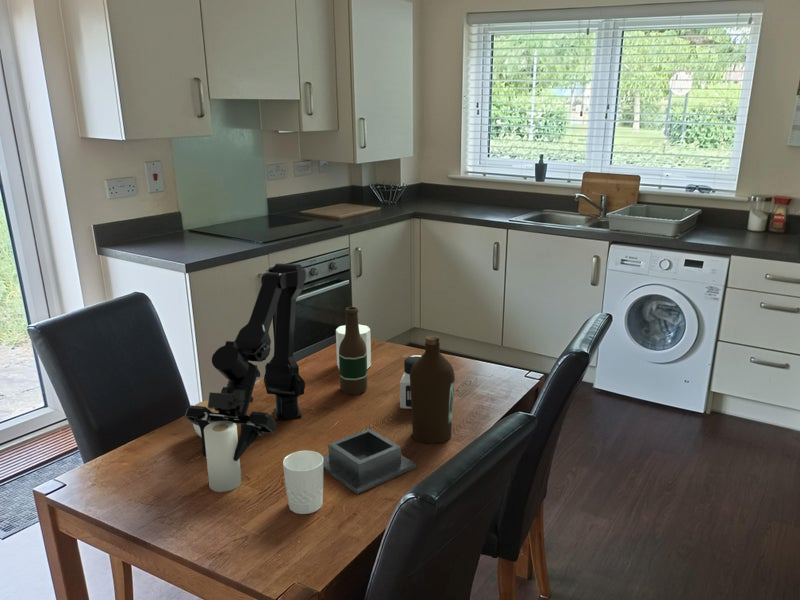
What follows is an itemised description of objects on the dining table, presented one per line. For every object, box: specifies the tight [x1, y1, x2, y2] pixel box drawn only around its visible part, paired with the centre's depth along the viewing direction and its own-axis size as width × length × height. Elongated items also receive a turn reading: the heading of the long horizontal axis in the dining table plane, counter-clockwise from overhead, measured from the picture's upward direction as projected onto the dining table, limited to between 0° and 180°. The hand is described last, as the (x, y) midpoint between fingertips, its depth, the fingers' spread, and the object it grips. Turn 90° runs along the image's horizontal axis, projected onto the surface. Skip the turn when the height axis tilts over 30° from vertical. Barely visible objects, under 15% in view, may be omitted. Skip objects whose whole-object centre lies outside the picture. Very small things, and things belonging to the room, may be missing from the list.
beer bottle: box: [338, 306, 368, 396], centre depth 183 cm, size 8×8×24 cm
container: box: [399, 354, 422, 410], centre depth 176 cm, size 8×8×13 cm
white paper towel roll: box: [204, 421, 242, 493], centre depth 139 cm, size 7×7×13 cm
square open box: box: [322, 427, 417, 495], centre depth 146 cm, size 16×16×5 cm
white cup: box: [282, 450, 324, 515], centre depth 131 cm, size 8×8×10 cm
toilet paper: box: [335, 323, 372, 370], centre depth 202 cm, size 10×10×12 cm
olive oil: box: [410, 335, 456, 445], centre depth 157 cm, size 11×11×25 cm
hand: (219, 458), depth 137 cm, fingers closed on white paper towel roll, 7 cm apart
